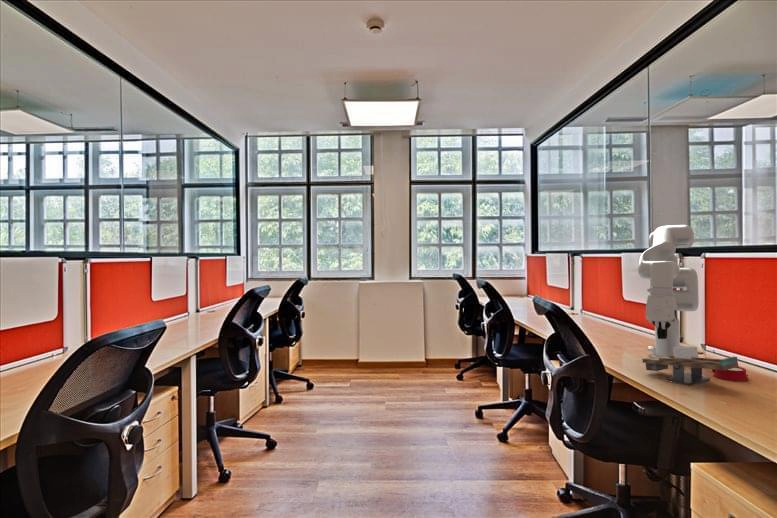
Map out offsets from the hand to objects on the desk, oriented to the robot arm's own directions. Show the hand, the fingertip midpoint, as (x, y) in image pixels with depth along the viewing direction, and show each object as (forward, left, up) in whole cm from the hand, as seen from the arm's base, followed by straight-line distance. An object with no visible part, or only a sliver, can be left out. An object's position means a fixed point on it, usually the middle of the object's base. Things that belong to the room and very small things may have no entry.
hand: (662, 338), depth 166 cm
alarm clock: (+14, +20, -15) cm, 28 cm away
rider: (+8, +1, -7) cm, 11 cm away
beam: (+9, +1, -11) cm, 15 cm away
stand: (+9, +1, -15) cm, 17 cm away
